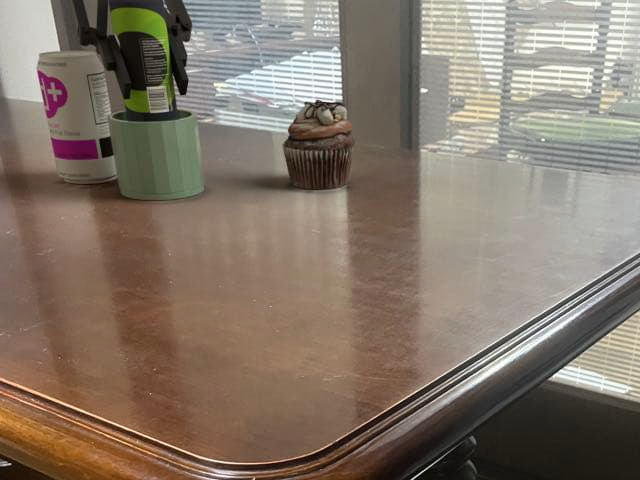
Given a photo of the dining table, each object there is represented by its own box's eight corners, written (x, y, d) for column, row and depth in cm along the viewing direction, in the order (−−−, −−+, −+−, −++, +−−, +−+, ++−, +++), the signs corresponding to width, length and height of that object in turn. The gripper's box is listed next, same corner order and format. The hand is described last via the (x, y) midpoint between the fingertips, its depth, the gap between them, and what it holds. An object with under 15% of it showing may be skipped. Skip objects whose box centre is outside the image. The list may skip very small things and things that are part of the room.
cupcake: (301, 172, 124) (296, 93, 118) (365, 177, 121) (364, 97, 116) (272, 187, 116) (266, 104, 111) (340, 193, 114) (337, 108, 108)
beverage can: (185, 124, 113) (168, -13, 104) (170, 134, 108) (151, -10, 99) (138, 123, 113) (118, -14, 105) (121, 132, 108) (98, -11, 100)
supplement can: (76, 188, 115) (50, 58, 107) (49, 177, 120) (23, 53, 112) (132, 178, 120) (112, 54, 111) (104, 168, 125) (83, 48, 116)
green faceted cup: (102, 195, 112) (89, 118, 107) (152, 178, 120) (141, 105, 115) (174, 203, 109) (164, 124, 104) (220, 185, 117) (212, 111, 112)
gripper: (14, -106, 100) (74, 71, 98) (178, -102, 108) (237, 62, 105) (18, -51, 107) (74, 116, 105) (172, -51, 115) (227, 105, 112)
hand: (156, 89), depth 105 cm, fingers closed on beverage can, 6 cm apart
